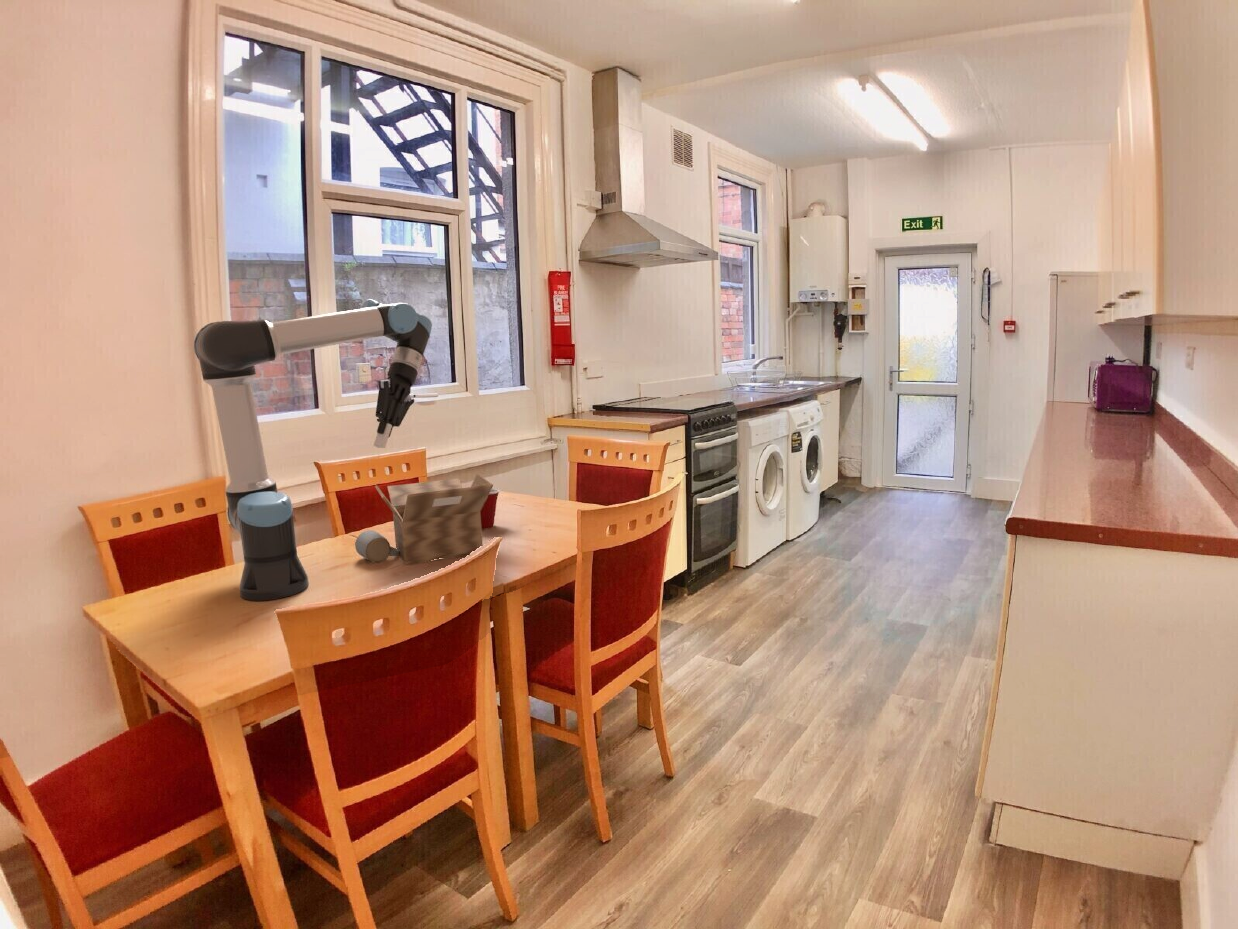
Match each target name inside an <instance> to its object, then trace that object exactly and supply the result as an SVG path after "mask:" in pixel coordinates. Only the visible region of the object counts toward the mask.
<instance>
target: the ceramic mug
mask: <svg viewBox="0 0 1238 929" xmlns="http://www.w3.org/2000/svg"><path fill="white" fill-rule="evenodd" d="M354 545H355V546H354V547H355V550H356V552H357V553H358V555H359V556H361V557H362V558H364V559H366V560H367V561H368V562H372V563H381V562H383V561H385V560H386V559H387V558H388V557H389V556H392V557H399V556H400V554H399V552H400V551H399V550H398V549H396V547H394V546H391V544H390V542H389V540H388V539H387V538H386V537H385V536H383V535H382V534H380V532H378V531H376V530H372V529H369V530H368V529H367V530H365V531H363V532H361V533H360V534H358V536H357V537H356V540H355V544H354Z"/></svg>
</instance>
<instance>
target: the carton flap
mask: <svg viewBox="0 0 1238 929" xmlns="http://www.w3.org/2000/svg"><path fill="white" fill-rule="evenodd" d="M489 489H490V485H485V486H477V487H471V486H470V487H462V488H459V489H451V490H442V491H434V492H425V493H416V494H408V496H407V501H406V505H405V510H404V515H403V522H404V521H412V520H419V519H427V518H435V517H442V516H450V515H458V514H465V513H473V512H480V509H481V507H482V505H483V503H484V501H485V498H486V496H487V494H488V492H489Z"/></svg>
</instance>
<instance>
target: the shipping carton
mask: <svg viewBox="0 0 1238 929" xmlns="http://www.w3.org/2000/svg"><path fill="white" fill-rule="evenodd" d="M485 485H490V489H489V492H488V494H487V496H486V498H485V501H486V499H487V497H488V495H489V493H490V491H491V489H493V486H494V484H492V483H491V482H489V481H488V480H487V479H485V478H484V477H482V476H481V475H480V474H476V475H475V477H474V479H473V482H472V483H471V486H470V487H477V486H485ZM374 487H375V489H376V491H377V492H378V493H379V496H381V498H382V500H383V501H384V503H385V504H386V505H387V506H388V508H389V509H390V510H391V511H392V519H393V529H394V541H395V548H397V549H398V550H399V551H400V552H399V557H400V558H401V560H402V561H404V562H403V563H404V565H405V566H409V565H414V564H415V565H416V564H422V563H421V562H423V563H426V562H425V561H429V562H432V561H431V560H434V559H439V558H449V559H453V558H452V557H455V558H461V557H466V555H469V554H470V553H471V552H472V551H475V550H476V549H477V548H479V547H480V546H483V533H482V532H483V529H481V515H480V512H473V513H465V514H458V515H450V516H442V517H435V518H427V519H419V520H412V521H404V522H403V515H404V510H405V505H406V501H407V496H408V494H416V493H425V492H434V491H442V490H451V489H459V488H463V486H462V484H461V481H460V477H459V478H450V479H442V480H434V481H424V482H415V483H405V484H398V485H396V484H395V485H387V491H388V495H389V499H390V501H389V499H388V498H387V497H386V496H385V494H384V493H383V491H382V490H381V489H380V487H379V486H378V484H376V485H375V486H374ZM485 501H484V503H485ZM484 503H483V505H484ZM483 505H482V507H481V509H480V511H481V510H482V508H483ZM483 547H484V546H483ZM459 556H460V557H459ZM469 556H470V555H469ZM455 558H454V559H455Z"/></svg>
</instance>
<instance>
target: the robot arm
mask: <svg viewBox="0 0 1238 929" xmlns="http://www.w3.org/2000/svg"><path fill="white" fill-rule="evenodd" d="M432 327H433V323H432V321H431V319H430V318H428V316H426V315H424V314H423V313H421V314H420V313H418V312H417V311H416V309H415V308H414V307H413V306H412V305H411V304H410V303H406V302H395V303H389V304H383V303H381V302H380V301H377V300H374V299H372V298H368V299H367V300H365V301H364V302H363V303H362V305H361V307H360V308H358V309H353V310H352V309H351V310H346V311H345V310H344V311H338V312H332V313H326V314H319V315H313V316H307V317H300V318H294V319H287V320H280V321H275V322H274V321H273V322H269V321H268V320H266V319H259V320H251V321H250V320H249V321H248V320H247V321H245V320H243V321H242V320H241V321H240V320H239V321H238V320H237V321H236V320H233V321H232V320H223V321H214V322H210V323H208V324H206V325H204V326H202V327H201V328H200V330H198V332H197V333H196V336H194V337H195V338H194V342H193V350H194V353H195V356H196V358H197V359H198V361H199V364H200V366H199V367H200V372H201V375H202V380H203V382H205V383H206V384H208V385H209V386H210V387H211V389H212V390H211V391H212V395H213V400H214V405H215V410H216V415H217V420H218V421H217V422H218V425H219V430H220V436H221V439H222V446H223V452H224V455H225V461H226V464H227V465H226V466H227V470H228V475H229V476H228V477H229V484H228V485H227V486H226V488H225V489H224V492H225V496H226V501H227V508H226V509H227V510H226V511H227V512H226V515H227V519H228V522H229V523H230V525H231V527H232V528H233V529H234V530H235V531H237V533H239V534H240V539H241V547H242V553H243V561H244V564H243V569H242V574H241V578H240V583H239V594H240V598H241V599H244V600H247V601H254V602H255V601H257V602H259V601H270V600H277V599H282V598H287V597H290V596H294V595H296V594H299V593H300V592H302V591H305V589H307V588H308V587H309V577H308V574H307V572H306V570H305V568H304V566H303V564H302V562H301V560H300V558H299V556H298V551H297V550H298V549H297V541H296V532H295V523H294V514H293V513H294V508H293V505H292V500H291V499H290V496H288V495H287V494H286V493H284V492H278V486H277V481H276V480H275V479H274V478H271V477H270V476H269V474H268V468H267V463H266V459H265V453H264V447H263V442H262V437H261V431H260V427H259V421H258V414H257V410H256V404H255V399H254V394H253V389H252V384H251V383H252V381H253V380H254V378H255V377H257V373H256V372H257V371H256V367H255V366H257V365H260V364H262V363H263V364H265V363H267V362H273V361H276V360H277V359H278V358H279V356H281V355H285V354H292V353H297V352H302V351H308V350H313V349H314V350H315V349H319V348H324V347H329V346H331V347H332V346H335V345H336V346H337V345H342V344H346V343H347V344H348V343H351V342H357V341H363V340H367V339H368V340H369V339H374V338H379V337H385V338H387V339H390V340H391V341H393V342H396V346H395V350H394V353H393V356H392V359H391V363H390V365H389V368H388V371H387V378H386V379H379V380H378V382H377V383H378V395H377V403H376V409H375V418H376V421H377V422H378V426H377V429H376V436H375V440H374V442H373V446H374V447H376V448H378V449H379V448H381V449H385V448H386V445H387V443H388V440H389V438H390V437H391V434H392V431H393V429H394V427H397V428H398V427H400V426H401V425H402V422H403V420H404V419H405V417H406V415H407V413H408V411H409V409H410V407H411V406H412V405H413V404H415V399H414V398H412V397H411V395H410V394H411V391H412V390H411V388H412V386H413V385H415V383H416V380H417V377H418V373H419V369H420V366H421V363H422V360H423V357H424V353H425V351H426V347H427V345H428V343H429V339H430V337H431V333H432Z"/></svg>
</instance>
